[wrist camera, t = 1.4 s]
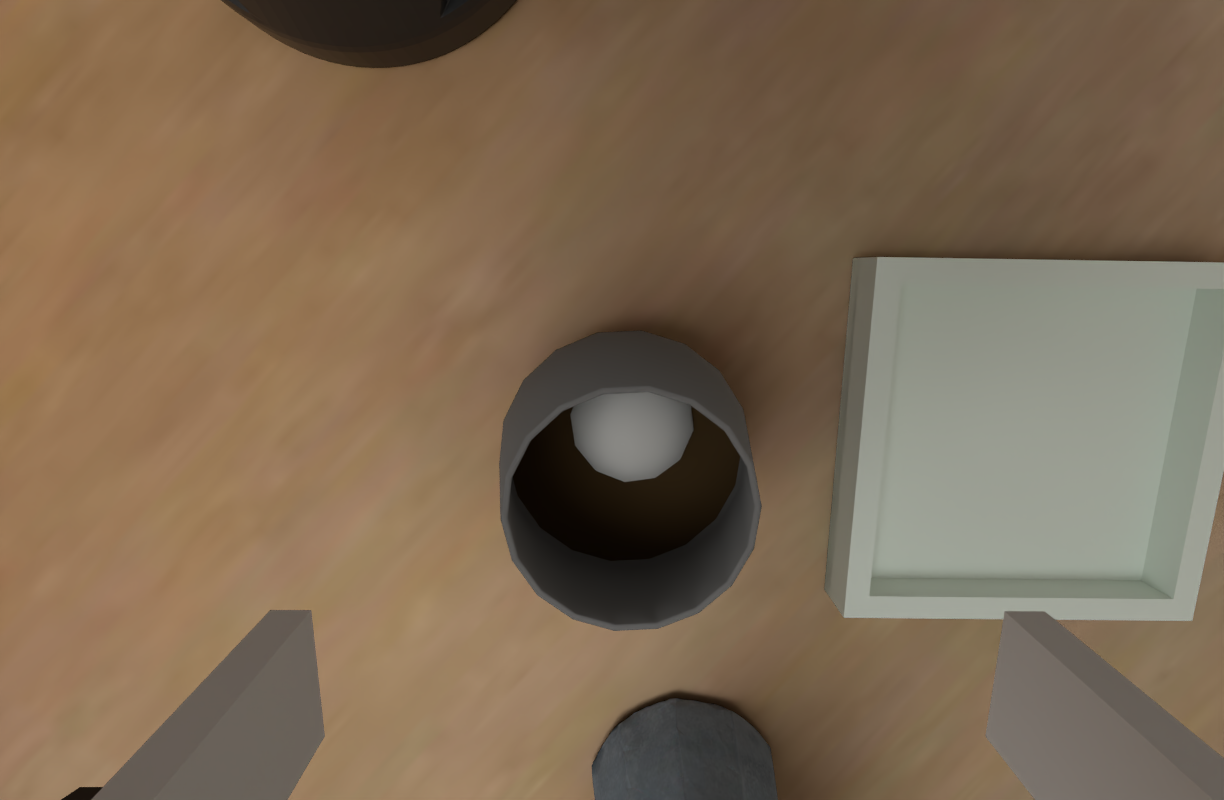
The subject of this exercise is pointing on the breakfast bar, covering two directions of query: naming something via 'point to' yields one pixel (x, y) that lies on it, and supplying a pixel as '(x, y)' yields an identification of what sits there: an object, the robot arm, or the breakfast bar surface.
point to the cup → (627, 481)
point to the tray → (1027, 438)
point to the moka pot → (684, 756)
